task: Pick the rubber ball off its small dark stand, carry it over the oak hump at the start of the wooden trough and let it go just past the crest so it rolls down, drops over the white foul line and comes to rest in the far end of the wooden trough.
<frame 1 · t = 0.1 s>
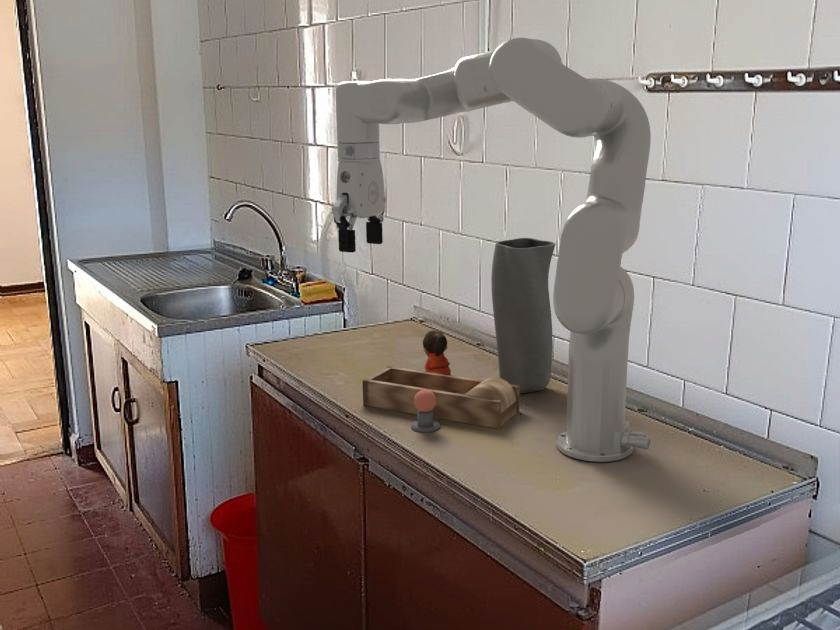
hand: (361, 247, 158), 31 cm above the counter, fingers open, 9 cm apart
wooden trough: (440, 407, 165), on the counter
ball: (425, 400, 154), point 5 cm above the counter, touching stand
figurine: (438, 387, 177), on the counter
vase: (521, 390, 175), on the counter
stand: (425, 426, 155), on the counter
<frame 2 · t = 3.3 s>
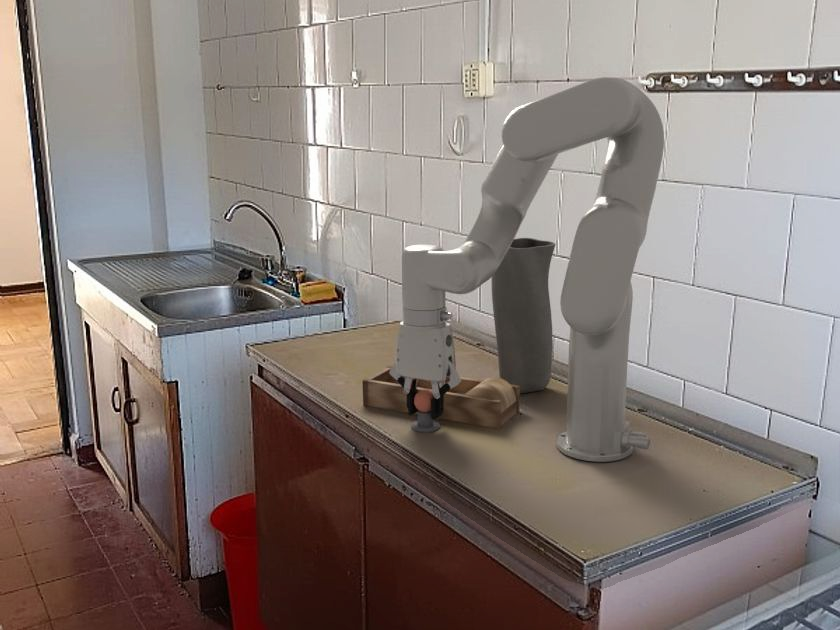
hand: (425, 413, 155), 3 cm above the counter, fingers closed on ball, 4 cm apart
ball: (425, 400, 154), point 5 cm above the counter, touching gripper, stand
everything else where it was.
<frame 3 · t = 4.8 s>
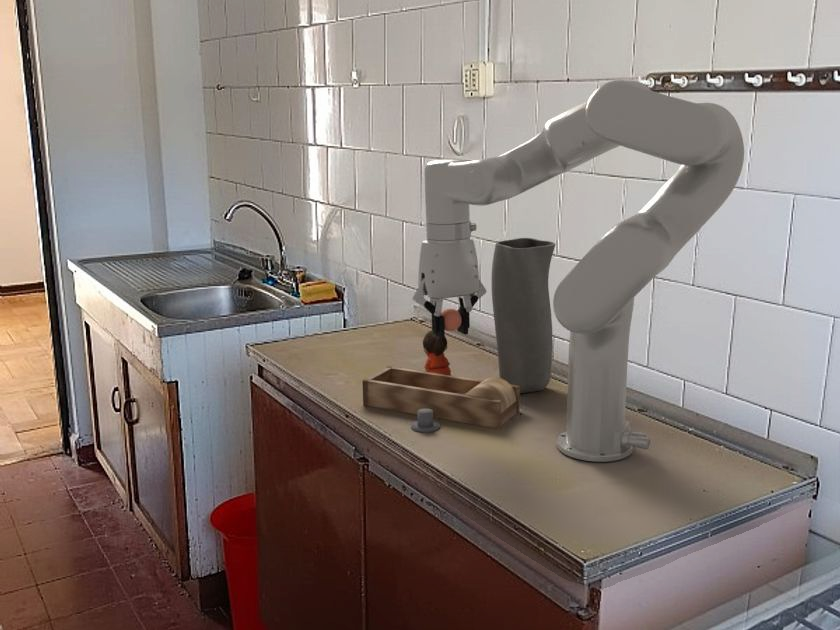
hand: (451, 333, 153), 17 cm above the counter, fingers closed on ball, 4 cm apart
ball: (450, 319, 153), point 19 cm above the counter, touching gripper
everything else where it was.
when the fingers open (7 cm above the counter, at t = 6.7 s): ball drops 7 cm and tips over, resting on wooden trough.
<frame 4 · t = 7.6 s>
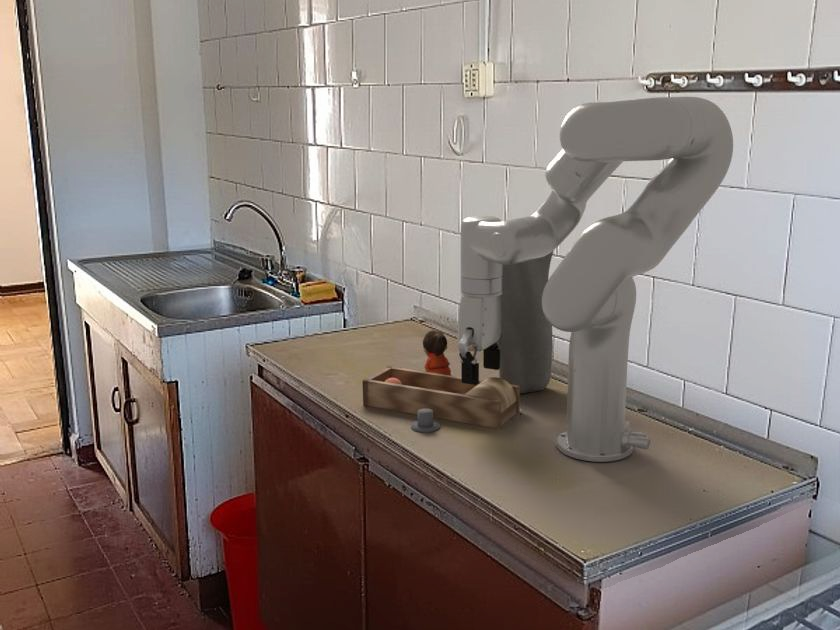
hand: (481, 376, 159), 8 cm above the counter, fingers open, 9 cm apart
ball: (392, 387, 169), point 2 cm above the counter, tilted 118°, touching wooden trough
everything else where it was.
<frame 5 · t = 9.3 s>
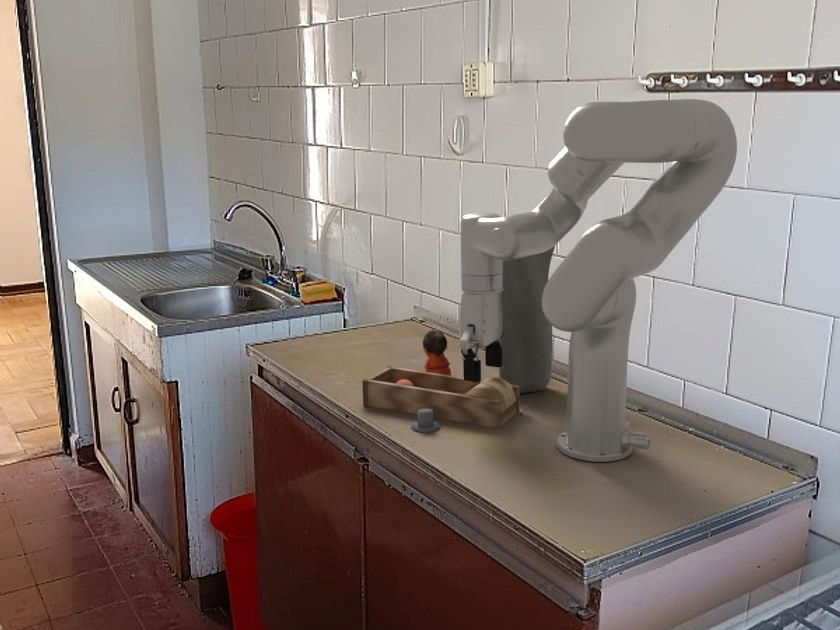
hand: (483, 373, 159), 8 cm above the counter, fingers open, 9 cm apart
ball: (404, 389, 168), point 2 cm above the counter, tilted 169°, touching wooden trough
everything else where it was.
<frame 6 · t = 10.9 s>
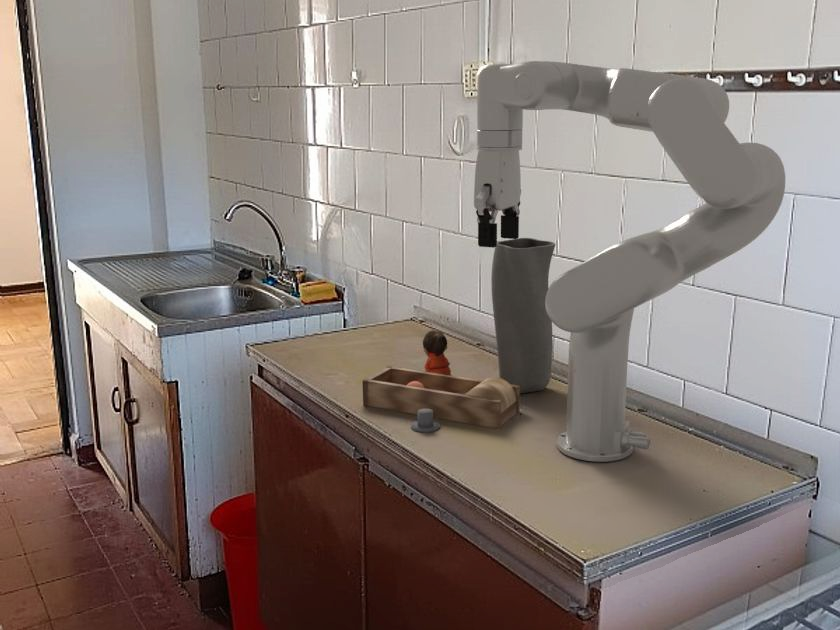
hand: (498, 242, 148), 33 cm above the counter, fingers open, 9 cm apart
ball: (414, 391, 167), point 2 cm above the counter, tilted 100°, touching wooden trough
everything else where it was.
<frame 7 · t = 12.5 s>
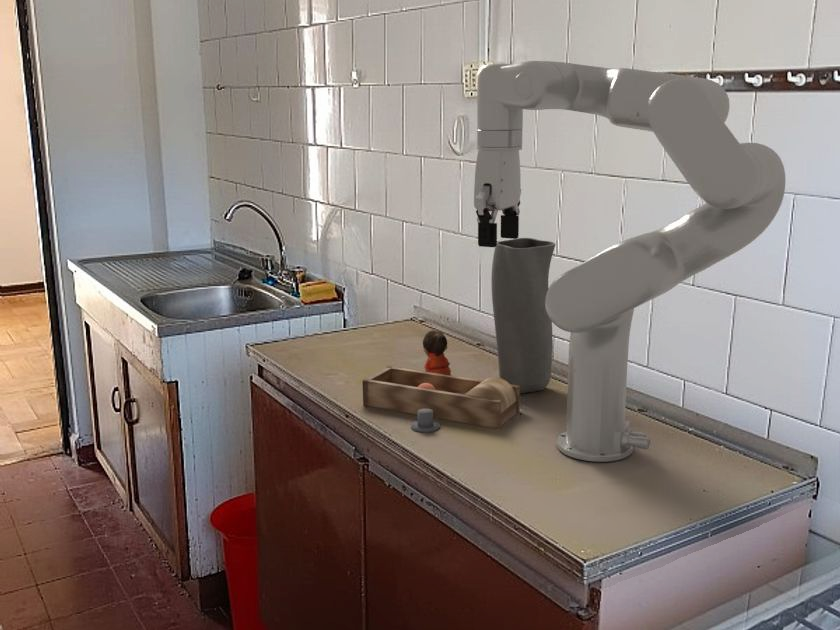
hand: (498, 242, 148), 33 cm above the counter, fingers open, 9 cm apart
ball: (425, 393, 166), point 2 cm above the counter, tilted 31°, touching wooden trough
everything else where it was.
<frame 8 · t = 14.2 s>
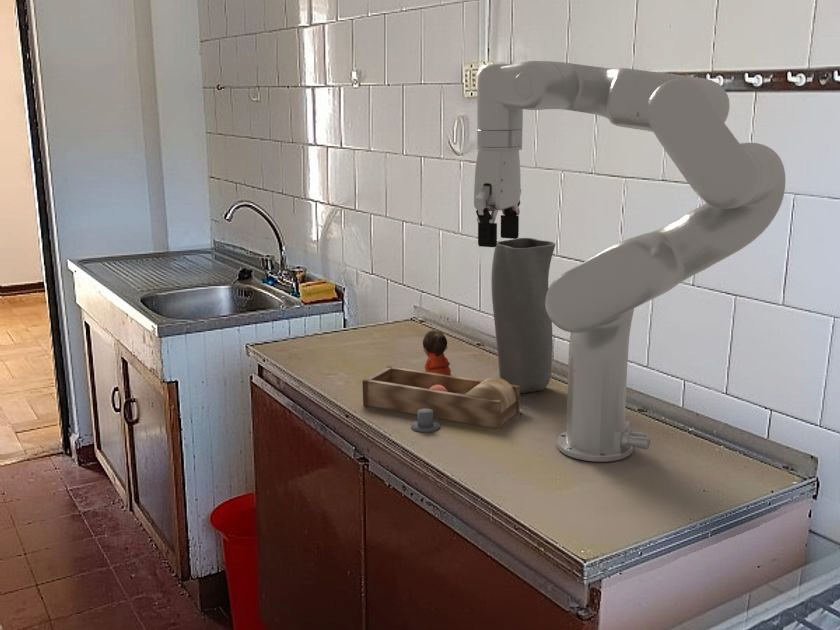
hand: (498, 242, 148), 33 cm above the counter, fingers open, 9 cm apart
ball: (437, 395, 164), point 2 cm above the counter, tilted 42°, touching wooden trough
everything else where it was.
at the end: ball inside the target area (6.3 cm from its centre), point 2.5 cm above the counter; ball moved 10.5 cm from its start; the gripper is holding nothing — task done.
